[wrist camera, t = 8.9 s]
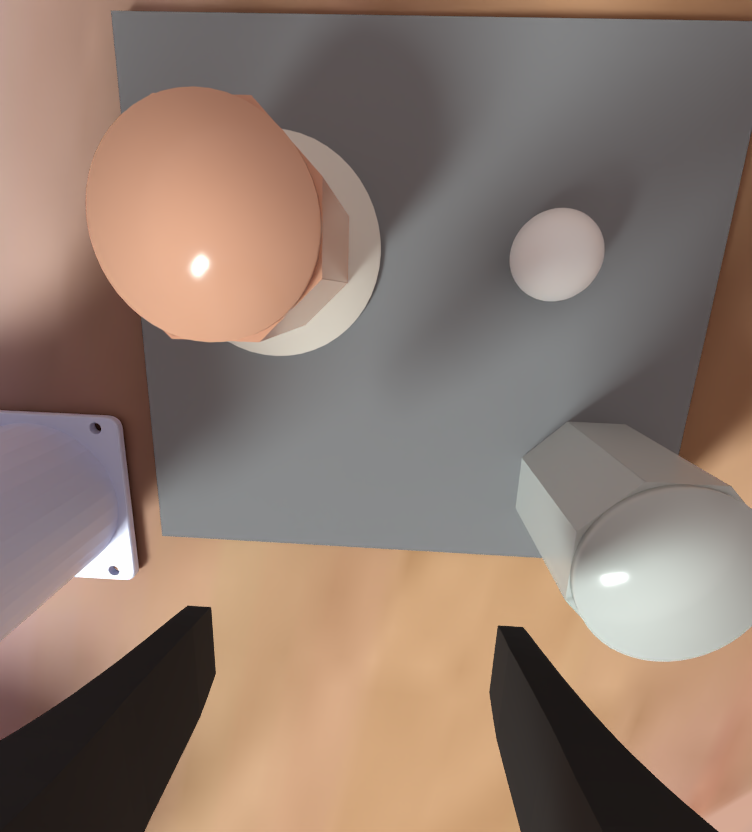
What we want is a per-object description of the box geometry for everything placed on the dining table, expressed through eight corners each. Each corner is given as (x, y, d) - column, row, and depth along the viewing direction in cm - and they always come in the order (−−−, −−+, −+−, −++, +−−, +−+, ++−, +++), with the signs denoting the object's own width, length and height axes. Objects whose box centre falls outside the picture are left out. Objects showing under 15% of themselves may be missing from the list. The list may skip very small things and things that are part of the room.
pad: (180, 350, 19) (176, 351, 18) (162, 127, 16) (158, 125, 16) (377, 359, 18) (376, 360, 18) (385, 133, 16) (385, 130, 16)
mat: (168, 529, 21) (162, 535, 21) (121, 20, 16) (110, 10, 16) (646, 556, 21) (654, 564, 20) (762, 31, 15) (776, 21, 15)
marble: (497, 299, 17) (516, 300, 15) (505, 213, 17) (528, 198, 14) (576, 302, 17) (612, 304, 14) (589, 216, 17) (629, 201, 14)
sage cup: (510, 541, 20) (561, 654, 14) (526, 419, 19) (591, 484, 12) (640, 549, 20) (751, 667, 14) (667, 426, 18) (804, 495, 12)
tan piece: (204, 321, 18) (101, 337, 12) (194, 162, 16) (69, 83, 10) (347, 326, 18) (319, 346, 11) (350, 166, 16) (319, 89, 10)
